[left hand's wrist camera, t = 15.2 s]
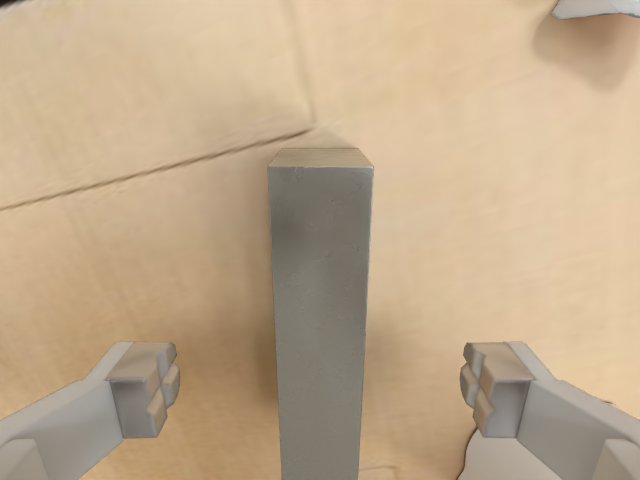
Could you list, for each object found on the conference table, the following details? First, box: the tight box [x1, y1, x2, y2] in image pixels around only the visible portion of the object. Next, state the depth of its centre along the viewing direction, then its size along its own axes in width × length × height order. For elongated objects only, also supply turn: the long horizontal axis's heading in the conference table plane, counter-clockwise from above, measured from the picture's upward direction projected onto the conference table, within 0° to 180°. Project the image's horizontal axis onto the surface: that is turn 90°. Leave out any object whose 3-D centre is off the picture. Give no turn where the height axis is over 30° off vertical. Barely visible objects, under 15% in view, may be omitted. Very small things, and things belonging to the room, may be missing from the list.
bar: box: [268, 148, 374, 480], centre depth 30 cm, size 26×6×9 cm, turn 0°
